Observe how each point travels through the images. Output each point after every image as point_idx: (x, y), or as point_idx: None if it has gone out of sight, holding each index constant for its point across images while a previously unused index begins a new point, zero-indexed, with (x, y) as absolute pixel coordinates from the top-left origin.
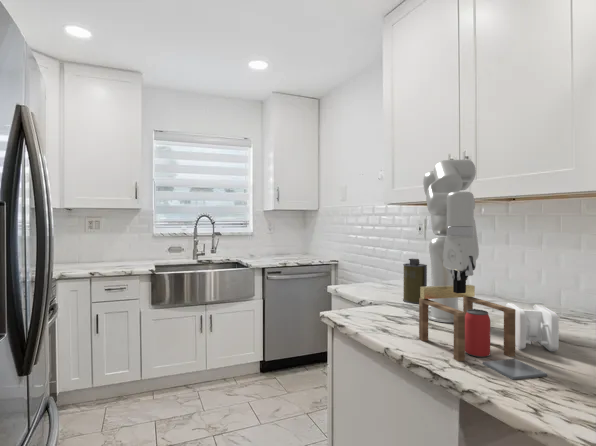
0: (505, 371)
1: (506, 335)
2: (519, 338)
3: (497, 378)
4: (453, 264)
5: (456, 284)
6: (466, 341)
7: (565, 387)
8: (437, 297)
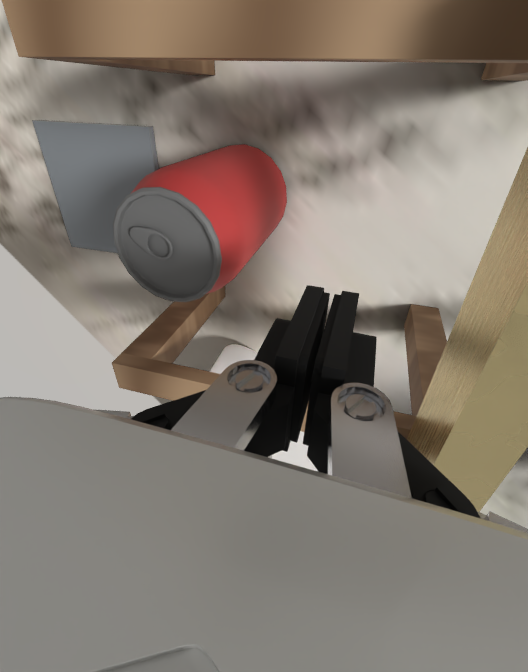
0: (70, 137)
1: (184, 304)
2: (222, 358)
3: (40, 74)
4: (127, 556)
5: (291, 326)
6: (231, 150)
7: (18, 221)
8: (517, 178)
